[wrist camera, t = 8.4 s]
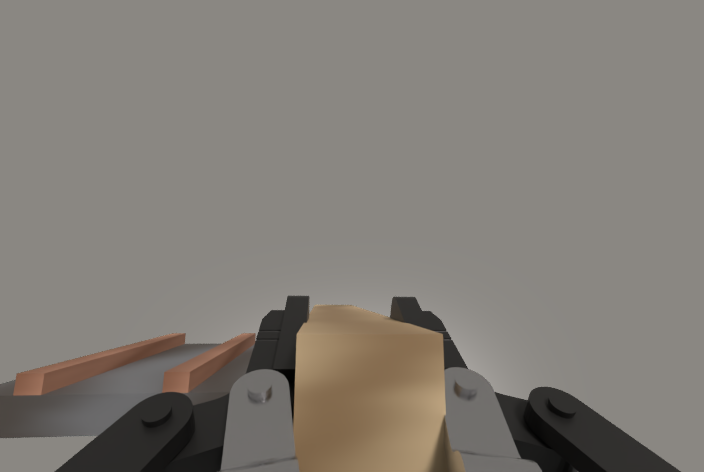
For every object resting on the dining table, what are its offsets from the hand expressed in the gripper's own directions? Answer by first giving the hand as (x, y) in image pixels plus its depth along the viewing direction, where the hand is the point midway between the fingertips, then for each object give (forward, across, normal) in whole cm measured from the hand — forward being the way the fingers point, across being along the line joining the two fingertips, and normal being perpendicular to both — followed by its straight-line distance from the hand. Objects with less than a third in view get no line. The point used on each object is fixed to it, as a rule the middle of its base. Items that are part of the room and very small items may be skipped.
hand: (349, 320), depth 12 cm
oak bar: (+4, 0, +6) cm, 7 cm away
